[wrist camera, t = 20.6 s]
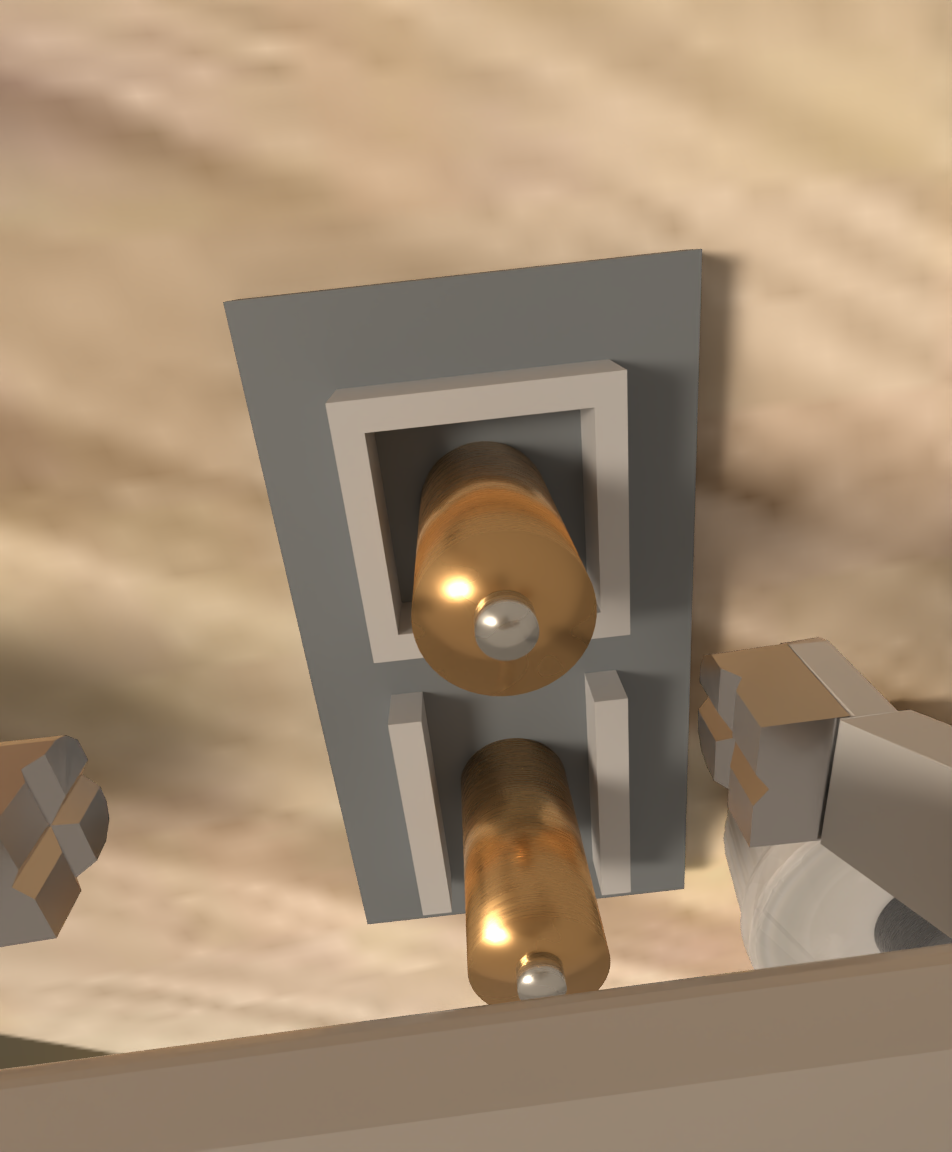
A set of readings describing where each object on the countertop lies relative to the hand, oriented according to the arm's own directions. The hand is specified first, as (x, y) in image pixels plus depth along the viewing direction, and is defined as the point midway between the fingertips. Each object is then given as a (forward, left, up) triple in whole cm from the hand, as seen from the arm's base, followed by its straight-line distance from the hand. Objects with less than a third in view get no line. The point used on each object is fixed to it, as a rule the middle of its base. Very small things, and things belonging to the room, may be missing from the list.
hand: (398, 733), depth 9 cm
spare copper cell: (+11, +2, -11) cm, 16 cm away
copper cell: (+1, +2, -11) cm, 12 cm away
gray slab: (+6, +2, -13) cm, 14 cm away
